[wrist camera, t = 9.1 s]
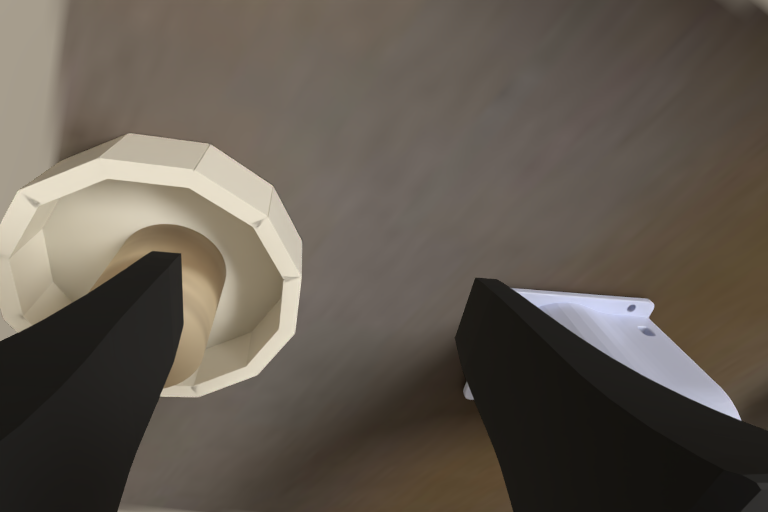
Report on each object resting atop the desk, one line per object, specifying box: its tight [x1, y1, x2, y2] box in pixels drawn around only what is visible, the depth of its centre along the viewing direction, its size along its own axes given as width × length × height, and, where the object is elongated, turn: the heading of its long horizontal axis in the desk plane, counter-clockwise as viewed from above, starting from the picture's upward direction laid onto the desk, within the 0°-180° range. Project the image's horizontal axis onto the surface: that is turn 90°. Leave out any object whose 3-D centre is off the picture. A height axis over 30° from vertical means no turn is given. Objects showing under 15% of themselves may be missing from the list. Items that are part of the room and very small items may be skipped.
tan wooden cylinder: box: [88, 224, 226, 389], centre depth 18 cm, size 4×4×5 cm
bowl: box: [0, 133, 302, 397], centre depth 19 cm, size 11×11×3 cm
